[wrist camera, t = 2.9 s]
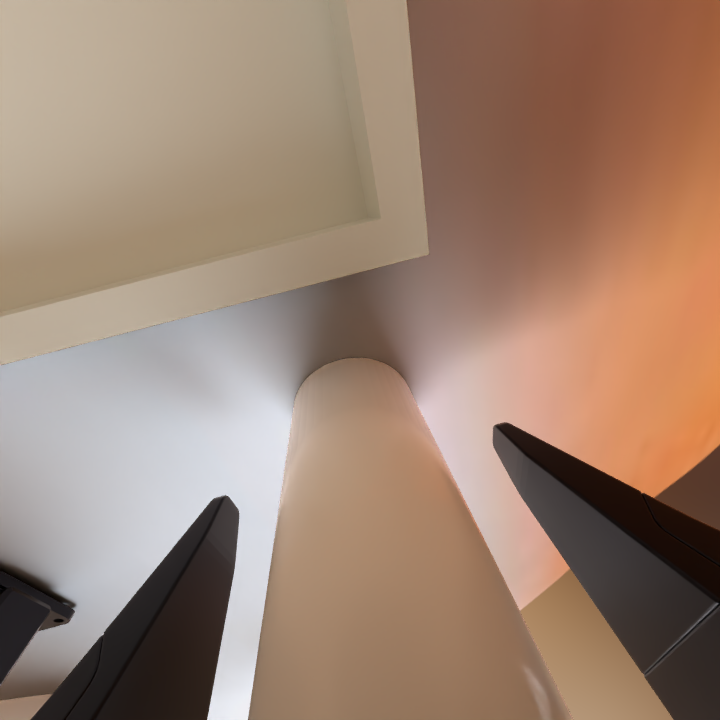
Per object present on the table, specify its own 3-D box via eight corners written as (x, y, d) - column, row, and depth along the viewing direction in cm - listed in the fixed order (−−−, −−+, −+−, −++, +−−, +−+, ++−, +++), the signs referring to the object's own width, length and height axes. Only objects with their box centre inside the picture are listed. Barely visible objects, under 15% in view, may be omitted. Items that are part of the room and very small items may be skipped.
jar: (314, 463, 13) (299, 995, 4) (275, 376, 10) (30, 1235, 2) (417, 436, 13) (620, 911, 4) (401, 343, 10) (824, 1030, 2)
